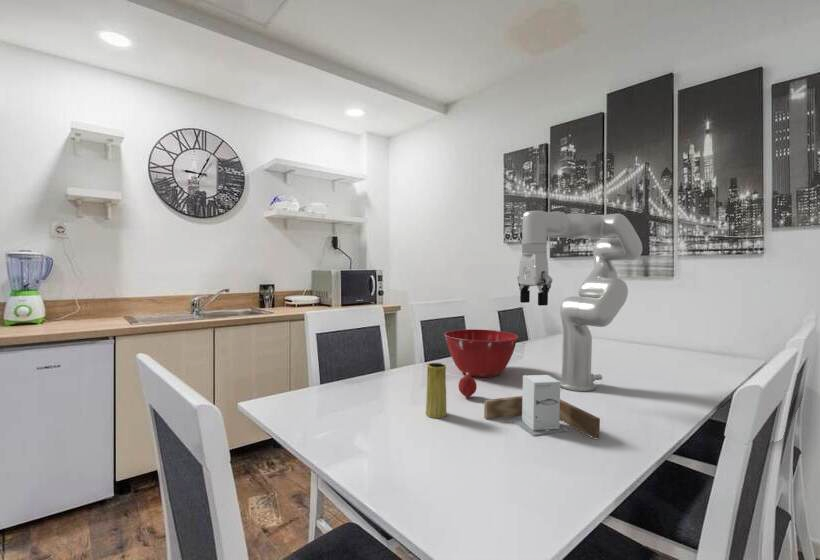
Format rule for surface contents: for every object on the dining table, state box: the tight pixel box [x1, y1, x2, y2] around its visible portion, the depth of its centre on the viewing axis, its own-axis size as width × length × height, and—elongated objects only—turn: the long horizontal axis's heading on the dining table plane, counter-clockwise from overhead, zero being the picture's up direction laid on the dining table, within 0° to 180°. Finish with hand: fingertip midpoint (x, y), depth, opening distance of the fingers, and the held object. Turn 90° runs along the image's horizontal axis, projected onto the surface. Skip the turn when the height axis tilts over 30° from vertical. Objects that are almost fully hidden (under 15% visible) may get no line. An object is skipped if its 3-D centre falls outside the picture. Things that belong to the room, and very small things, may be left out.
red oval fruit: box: [458, 373, 477, 399], centre depth 133 cm, size 6×6×8 cm
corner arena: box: [483, 395, 601, 439], centre depth 109 cm, size 21×21×5 cm
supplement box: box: [521, 374, 561, 431], centre depth 109 cm, size 7×7×13 cm
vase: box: [425, 362, 448, 419], centre depth 118 cm, size 6×6×14 cm
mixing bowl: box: [444, 328, 519, 378], centre depth 163 cm, size 28×28×16 cm
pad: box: [511, 418, 568, 437], centre depth 110 cm, size 10×10×1 cm
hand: (533, 303), depth 132 cm, fingers open, 9 cm apart
